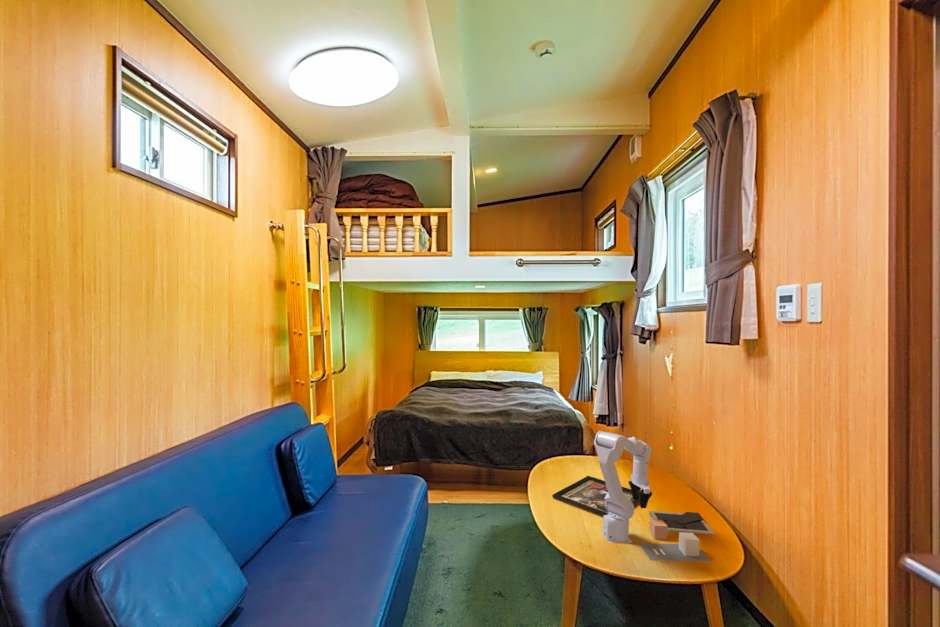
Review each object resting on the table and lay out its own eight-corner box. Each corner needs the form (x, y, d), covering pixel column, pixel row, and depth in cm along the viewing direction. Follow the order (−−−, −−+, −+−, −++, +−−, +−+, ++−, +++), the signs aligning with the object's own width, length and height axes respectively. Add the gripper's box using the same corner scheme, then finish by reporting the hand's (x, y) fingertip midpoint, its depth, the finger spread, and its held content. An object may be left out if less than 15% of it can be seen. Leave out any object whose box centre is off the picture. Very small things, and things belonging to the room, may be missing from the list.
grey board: (650, 562, 153) (650, 560, 153) (638, 544, 164) (638, 543, 164) (711, 563, 153) (712, 561, 153) (695, 545, 164) (695, 544, 164)
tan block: (685, 556, 156) (686, 539, 156) (678, 548, 161) (679, 532, 161) (699, 556, 156) (699, 540, 156) (691, 548, 161) (692, 532, 161)
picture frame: (698, 519, 187) (648, 515, 190) (698, 512, 187) (649, 509, 190) (714, 538, 172) (660, 534, 174) (714, 531, 171) (660, 527, 174)
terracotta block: (654, 541, 167) (654, 525, 167) (649, 534, 172) (649, 519, 172) (667, 541, 167) (667, 526, 167) (661, 534, 172) (662, 519, 172)
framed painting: (624, 526, 179) (625, 519, 179) (548, 502, 200) (548, 496, 200) (649, 496, 209) (649, 490, 209) (580, 478, 230) (580, 473, 230)
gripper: (657, 478, 171) (656, 511, 171) (642, 464, 186) (641, 495, 186) (640, 477, 171) (639, 511, 171) (626, 464, 185) (625, 495, 186)
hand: (639, 503), depth 178 cm, fingers open, 7 cm apart
